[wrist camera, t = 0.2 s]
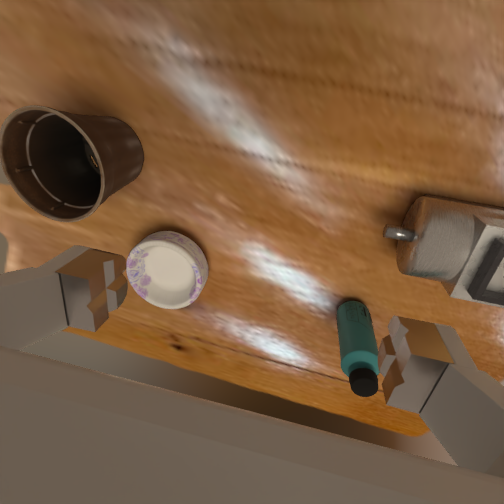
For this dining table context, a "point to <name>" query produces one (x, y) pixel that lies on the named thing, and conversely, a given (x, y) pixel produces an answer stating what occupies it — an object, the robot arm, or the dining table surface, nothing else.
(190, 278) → the paper bowls
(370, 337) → the beverage bottle
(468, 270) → the motor
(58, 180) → the plant pot
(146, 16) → the dining table surface
